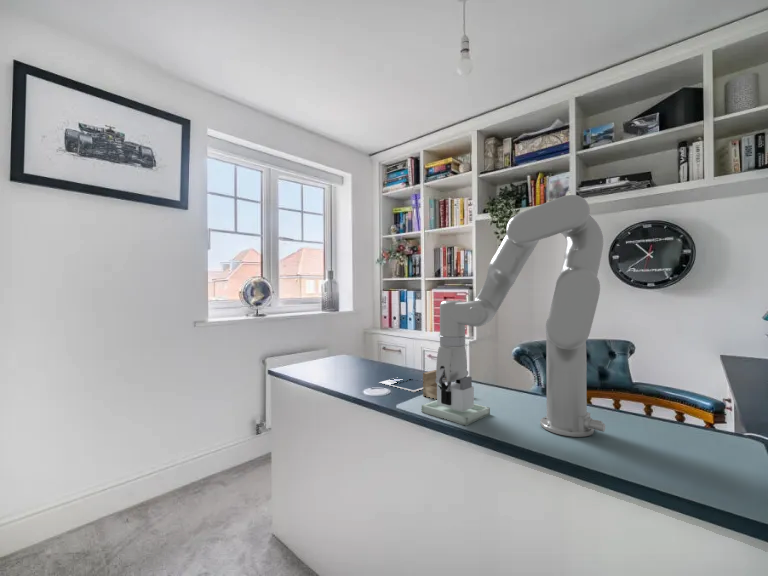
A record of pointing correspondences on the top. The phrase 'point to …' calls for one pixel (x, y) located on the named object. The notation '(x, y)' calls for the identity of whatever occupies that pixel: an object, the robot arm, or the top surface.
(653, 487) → the top surface
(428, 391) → the dock
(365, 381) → the top surface
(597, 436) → the top surface
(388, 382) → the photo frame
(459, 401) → the white box
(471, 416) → the tray
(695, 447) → the top surface
